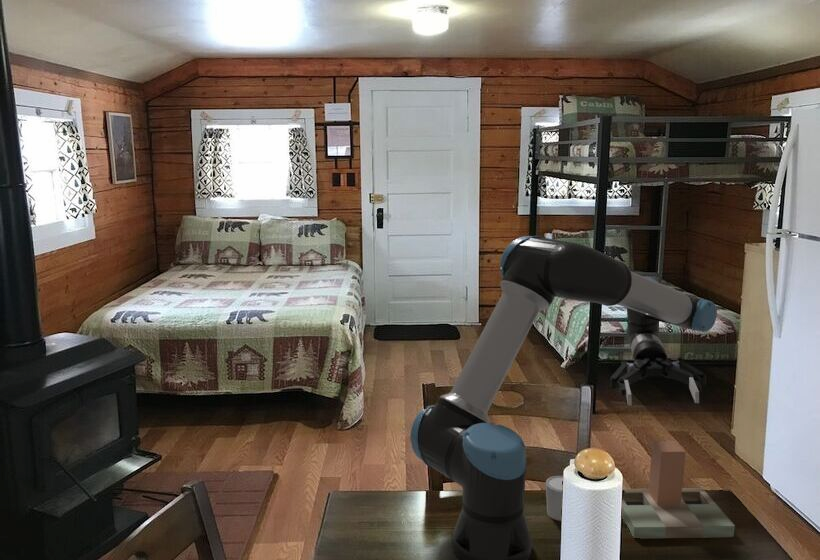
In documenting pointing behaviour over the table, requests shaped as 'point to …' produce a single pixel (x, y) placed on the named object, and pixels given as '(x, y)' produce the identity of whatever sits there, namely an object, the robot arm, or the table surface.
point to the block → (666, 472)
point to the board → (674, 516)
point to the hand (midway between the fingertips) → (663, 398)
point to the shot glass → (554, 496)
